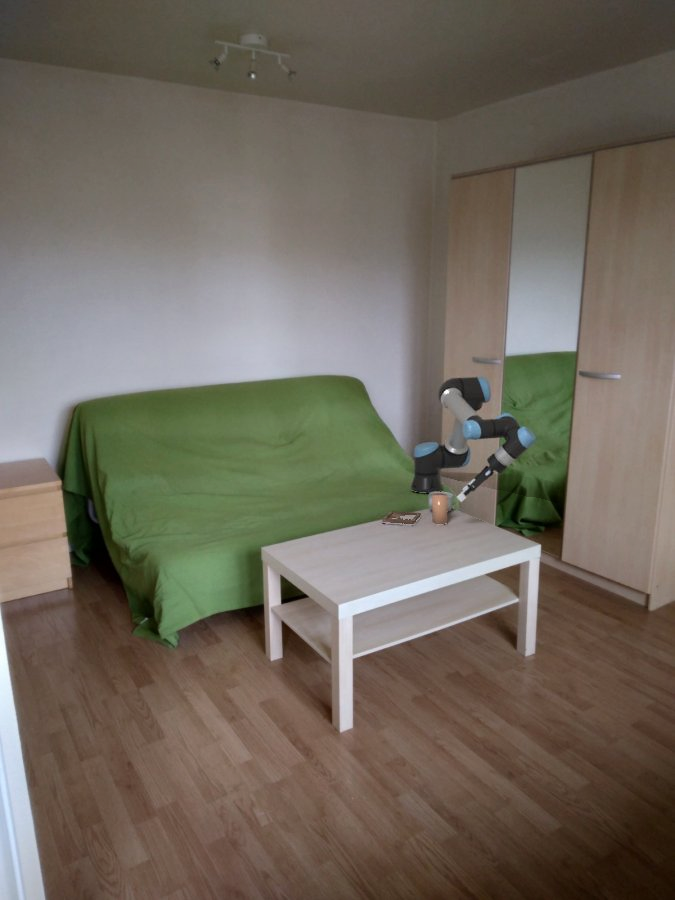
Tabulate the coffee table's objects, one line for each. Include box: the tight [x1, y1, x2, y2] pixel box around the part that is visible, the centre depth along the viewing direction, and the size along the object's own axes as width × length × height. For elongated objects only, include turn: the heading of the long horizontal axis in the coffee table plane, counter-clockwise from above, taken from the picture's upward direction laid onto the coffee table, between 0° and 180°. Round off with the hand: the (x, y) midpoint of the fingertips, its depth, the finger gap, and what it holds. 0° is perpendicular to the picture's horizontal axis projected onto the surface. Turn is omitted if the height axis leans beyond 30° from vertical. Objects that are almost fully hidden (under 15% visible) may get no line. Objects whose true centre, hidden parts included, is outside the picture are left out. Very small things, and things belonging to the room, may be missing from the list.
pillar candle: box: [431, 493, 448, 524], centre depth 266 cm, size 6×6×12 cm
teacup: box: [427, 491, 454, 512], centre depth 283 cm, size 14×11×8 cm
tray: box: [381, 510, 422, 524], centre depth 273 cm, size 13×13×2 cm
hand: (461, 495), depth 261 cm, fingers open, 13 cm apart
